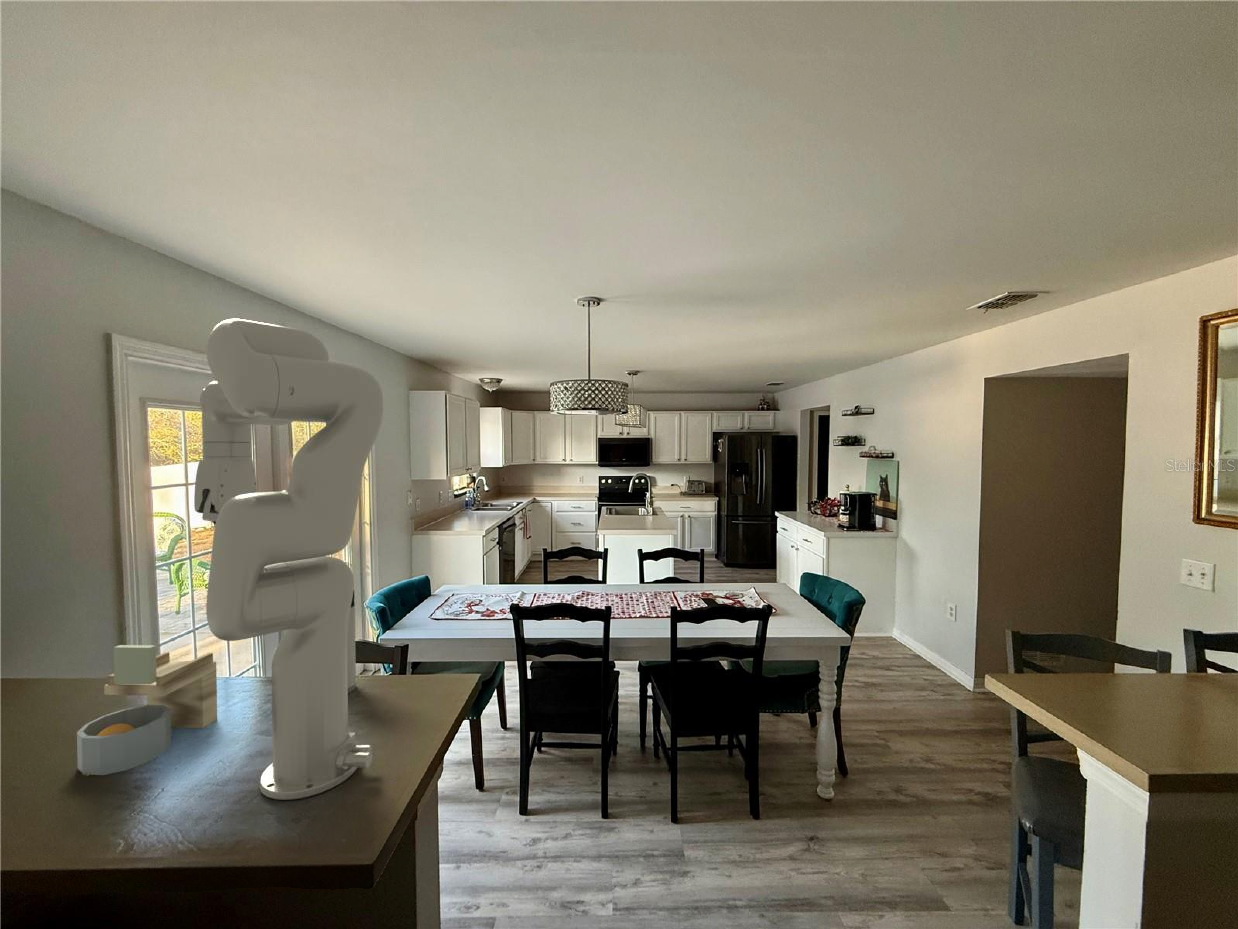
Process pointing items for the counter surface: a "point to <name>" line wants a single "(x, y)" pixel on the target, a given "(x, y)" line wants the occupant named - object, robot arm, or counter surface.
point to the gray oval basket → (124, 740)
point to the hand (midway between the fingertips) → (229, 548)
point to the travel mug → (351, 649)
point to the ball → (115, 729)
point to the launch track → (179, 690)
